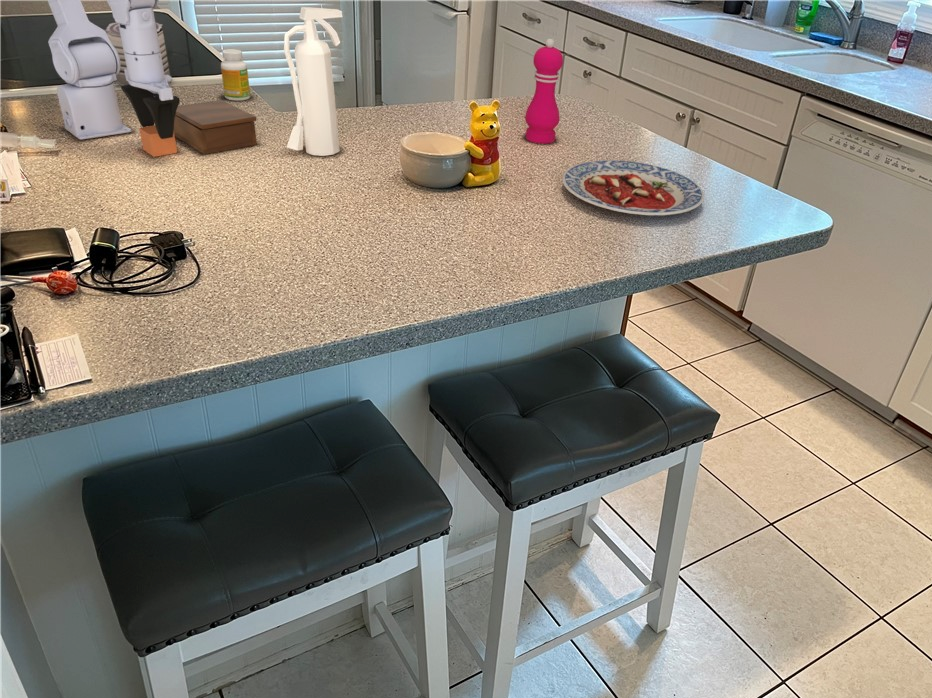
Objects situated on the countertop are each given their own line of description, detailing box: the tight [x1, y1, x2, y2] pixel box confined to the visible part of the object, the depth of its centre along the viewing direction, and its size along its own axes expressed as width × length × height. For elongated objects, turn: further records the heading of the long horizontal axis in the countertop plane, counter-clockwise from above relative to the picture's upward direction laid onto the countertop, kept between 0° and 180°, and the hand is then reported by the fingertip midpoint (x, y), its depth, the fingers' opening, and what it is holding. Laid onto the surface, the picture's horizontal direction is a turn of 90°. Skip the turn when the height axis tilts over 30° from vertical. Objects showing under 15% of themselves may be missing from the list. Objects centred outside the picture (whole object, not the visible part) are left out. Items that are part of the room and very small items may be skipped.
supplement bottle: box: [220, 48, 251, 102], centre depth 168 cm, size 5×5×10 cm
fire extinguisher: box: [283, 6, 343, 157], centre depth 140 cm, size 7×12×25 cm, turn 123°
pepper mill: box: [524, 38, 564, 145], centre depth 159 cm, size 7×7×20 cm
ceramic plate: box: [561, 159, 705, 216], centre depth 140 cm, size 26×26×3 cm
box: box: [174, 115, 258, 155], centre depth 147 cm, size 13×11×4 cm
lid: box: [175, 99, 257, 129], centre depth 145 cm, size 14×11×1 cm
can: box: [104, 21, 172, 87], centre depth 171 cm, size 11×11×12 cm
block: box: [138, 125, 178, 158], centre depth 139 cm, size 4×4×4 cm
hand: (157, 131), depth 139 cm, fingers open, 7 cm apart
